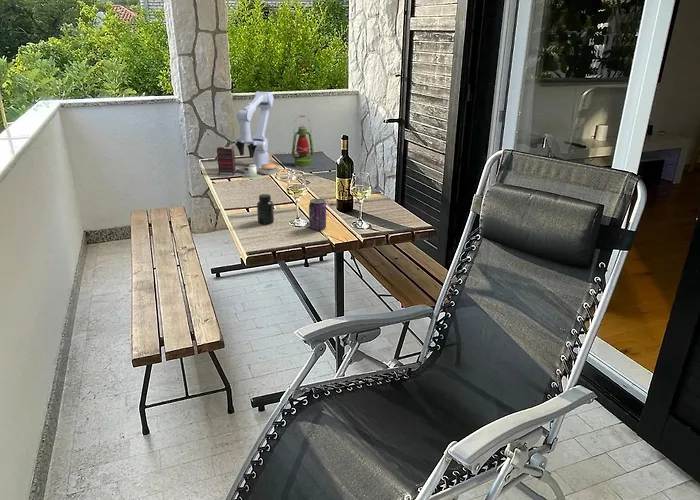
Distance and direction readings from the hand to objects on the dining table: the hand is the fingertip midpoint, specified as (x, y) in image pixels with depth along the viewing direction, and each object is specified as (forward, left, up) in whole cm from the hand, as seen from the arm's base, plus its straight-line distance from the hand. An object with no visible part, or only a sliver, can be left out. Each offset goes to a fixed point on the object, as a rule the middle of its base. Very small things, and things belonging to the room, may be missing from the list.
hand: (246, 156), depth 302 cm
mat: (+6, +10, -9) cm, 15 cm away
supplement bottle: (+56, +66, -10) cm, 87 cm away
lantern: (-32, +15, -10) cm, 37 cm away
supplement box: (+12, -4, -10) cm, 16 cm away
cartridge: (+6, +10, -9) cm, 15 cm away
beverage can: (+48, +88, -10) cm, 101 cm away
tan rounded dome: (-6, +11, -9) cm, 15 cm away
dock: (+1, -1, -9) cm, 10 cm away
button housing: (-6, +11, -9) cm, 16 cm away
